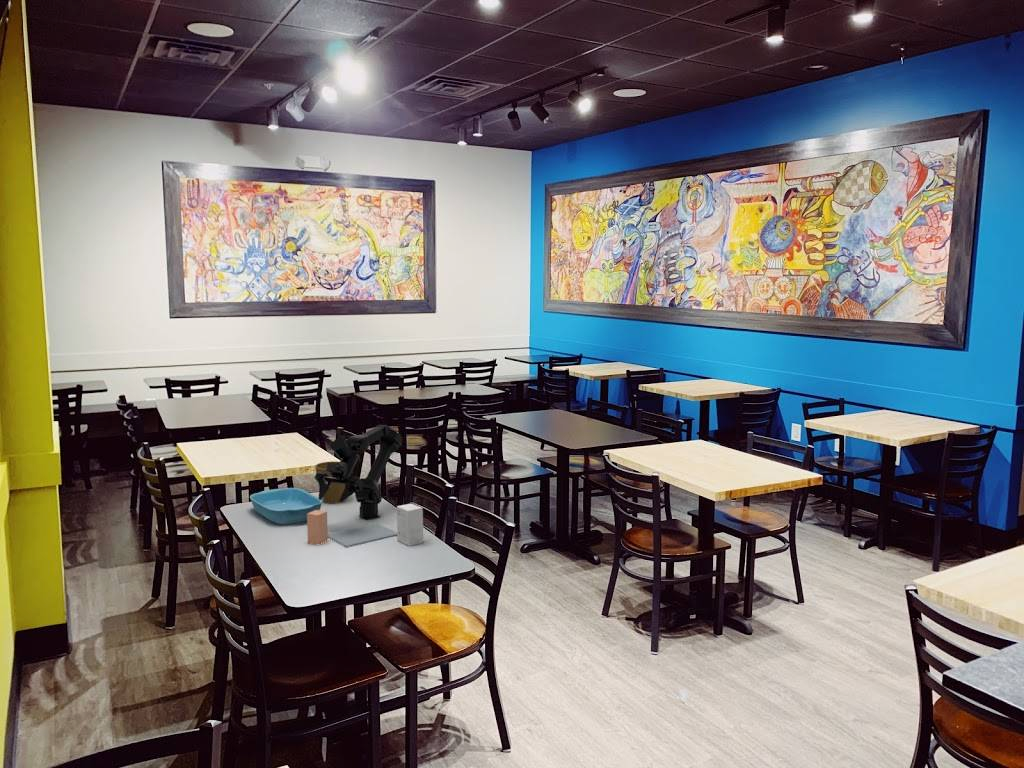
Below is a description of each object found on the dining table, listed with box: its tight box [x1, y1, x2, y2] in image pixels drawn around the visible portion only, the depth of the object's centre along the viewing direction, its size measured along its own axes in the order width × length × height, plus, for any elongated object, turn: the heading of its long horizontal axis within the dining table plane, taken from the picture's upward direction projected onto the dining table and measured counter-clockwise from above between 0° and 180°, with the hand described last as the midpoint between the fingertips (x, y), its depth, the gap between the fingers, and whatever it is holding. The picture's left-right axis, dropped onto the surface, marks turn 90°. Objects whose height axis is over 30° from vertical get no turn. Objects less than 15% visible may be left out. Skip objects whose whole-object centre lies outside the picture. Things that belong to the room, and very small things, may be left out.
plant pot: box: [314, 461, 345, 504], centre depth 334 cm, size 15×15×16 cm
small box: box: [396, 503, 424, 547], centre depth 282 cm, size 8×6×13 cm
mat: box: [328, 523, 397, 548], centre depth 289 cm, size 22×16×1 cm
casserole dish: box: [249, 487, 323, 525], centre depth 315 cm, size 37×22×7 cm, turn 37°
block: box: [306, 510, 329, 545], centre depth 281 cm, size 5×5×11 cm
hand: (329, 500), depth 287 cm, fingers open, 9 cm apart
